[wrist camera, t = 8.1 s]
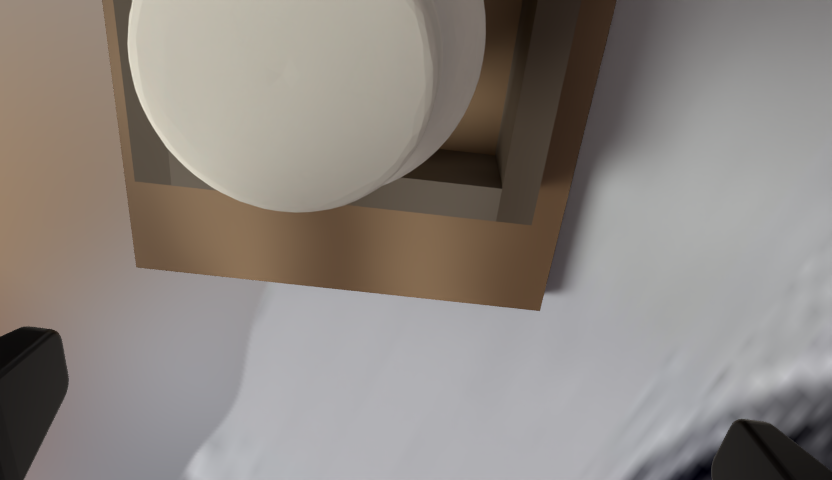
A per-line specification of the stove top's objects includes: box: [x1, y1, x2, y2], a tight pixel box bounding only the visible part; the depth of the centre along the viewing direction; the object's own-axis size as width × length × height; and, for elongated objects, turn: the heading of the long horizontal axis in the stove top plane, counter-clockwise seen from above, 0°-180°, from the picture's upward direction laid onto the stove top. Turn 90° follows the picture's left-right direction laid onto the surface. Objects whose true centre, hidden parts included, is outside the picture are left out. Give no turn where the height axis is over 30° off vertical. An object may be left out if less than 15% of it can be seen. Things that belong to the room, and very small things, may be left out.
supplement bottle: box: [127, 0, 486, 213], centre depth 12 cm, size 6×6×10 cm
